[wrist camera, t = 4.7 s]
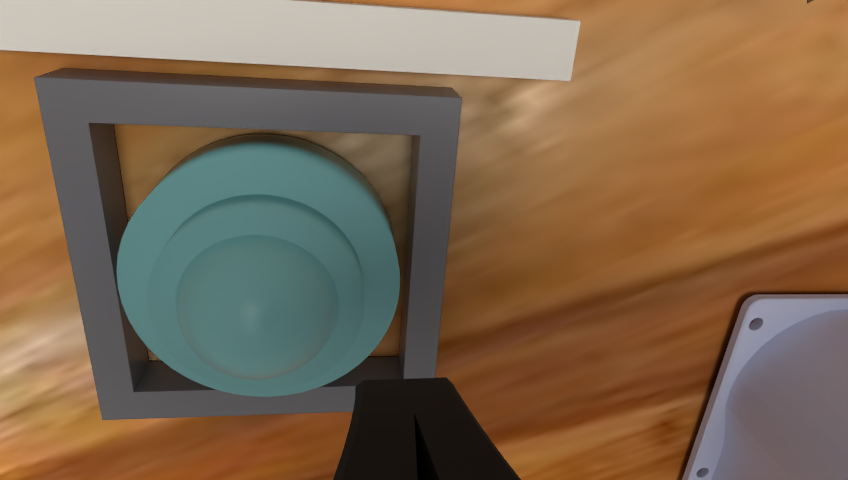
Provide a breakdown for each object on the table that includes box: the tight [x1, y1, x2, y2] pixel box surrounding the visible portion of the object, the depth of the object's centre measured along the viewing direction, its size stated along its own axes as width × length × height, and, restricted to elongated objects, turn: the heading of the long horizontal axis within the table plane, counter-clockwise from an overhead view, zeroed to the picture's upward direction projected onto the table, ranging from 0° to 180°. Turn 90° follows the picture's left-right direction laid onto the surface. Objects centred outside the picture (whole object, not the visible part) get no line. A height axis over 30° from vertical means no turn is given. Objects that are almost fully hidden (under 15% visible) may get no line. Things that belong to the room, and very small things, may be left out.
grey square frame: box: [34, 68, 462, 420], centre depth 17 cm, size 10×10×2 cm
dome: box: [117, 134, 400, 397], centre depth 15 cm, size 7×7×5 cm
